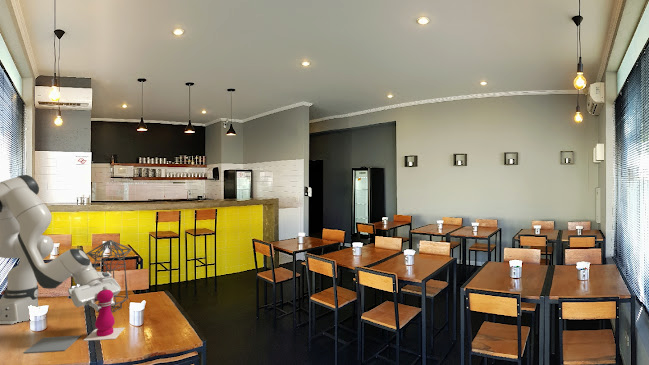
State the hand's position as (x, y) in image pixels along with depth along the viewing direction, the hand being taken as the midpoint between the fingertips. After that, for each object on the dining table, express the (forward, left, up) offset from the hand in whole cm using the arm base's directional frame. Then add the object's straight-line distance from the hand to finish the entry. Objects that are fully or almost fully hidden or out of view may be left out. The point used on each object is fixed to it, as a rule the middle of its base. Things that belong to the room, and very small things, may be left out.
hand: (106, 307), depth 166 cm
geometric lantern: (-10, +32, -12) cm, 36 cm away
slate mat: (-17, -8, -11) cm, 22 cm away
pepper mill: (-1, 0, -11) cm, 11 cm away
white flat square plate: (-1, 0, -11) cm, 11 cm away
